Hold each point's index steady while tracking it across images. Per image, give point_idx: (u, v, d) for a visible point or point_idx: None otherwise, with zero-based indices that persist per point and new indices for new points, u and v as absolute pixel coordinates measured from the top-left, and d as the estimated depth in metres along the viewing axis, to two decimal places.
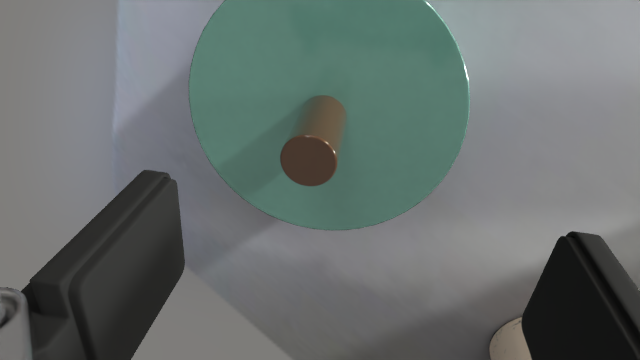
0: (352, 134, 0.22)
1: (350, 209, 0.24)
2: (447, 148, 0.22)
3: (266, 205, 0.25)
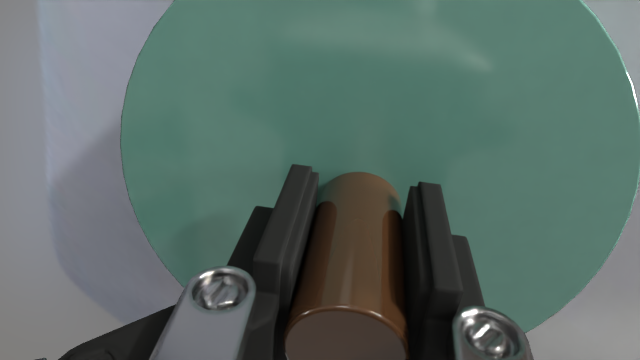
0: None
1: None
2: (579, 262, 0.12)
3: None
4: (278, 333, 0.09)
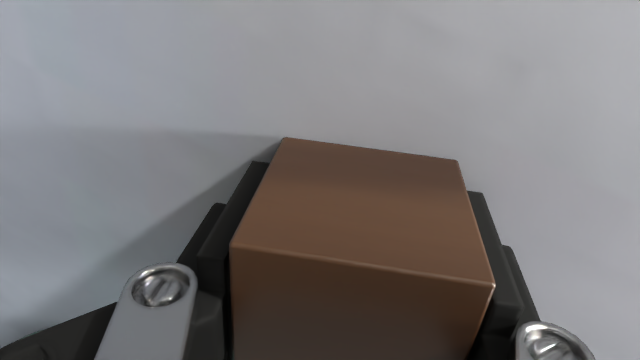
0: None
1: None
2: None
3: None
4: (228, 330, 0.09)
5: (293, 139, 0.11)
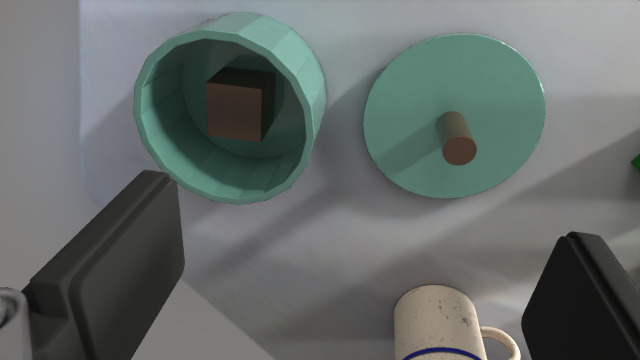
0: None
1: (459, 184, 0.37)
2: (528, 144, 0.35)
3: (402, 182, 0.38)
4: None
5: (227, 67, 0.36)
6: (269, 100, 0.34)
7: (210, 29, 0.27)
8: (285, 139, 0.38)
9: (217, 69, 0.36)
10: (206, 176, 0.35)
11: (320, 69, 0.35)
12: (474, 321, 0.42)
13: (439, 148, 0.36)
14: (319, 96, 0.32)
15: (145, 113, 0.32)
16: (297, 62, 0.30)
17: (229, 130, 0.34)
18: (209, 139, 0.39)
